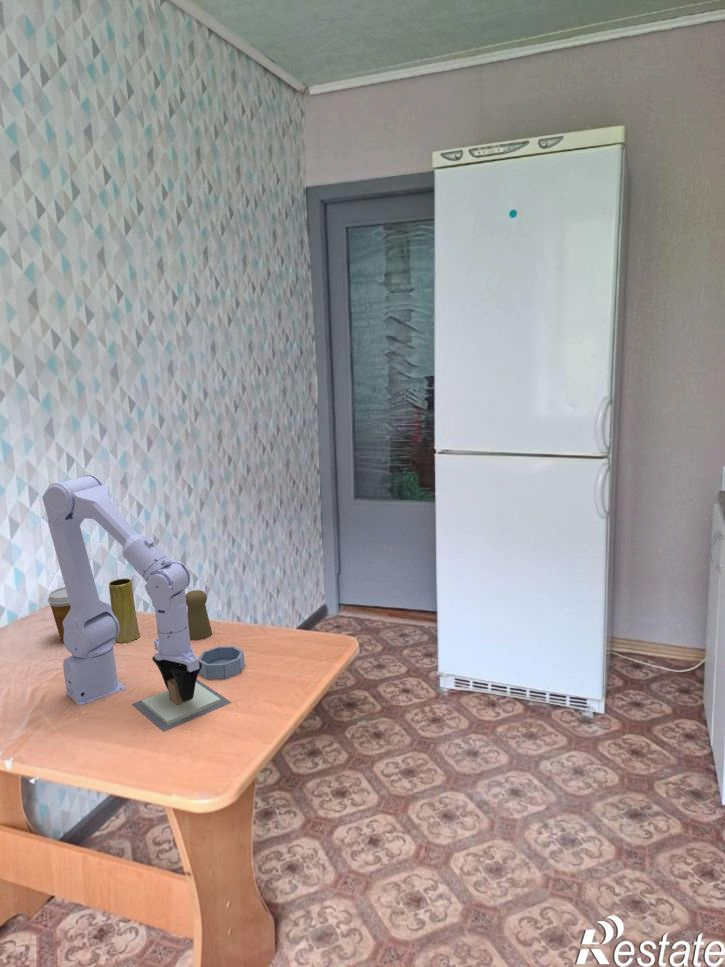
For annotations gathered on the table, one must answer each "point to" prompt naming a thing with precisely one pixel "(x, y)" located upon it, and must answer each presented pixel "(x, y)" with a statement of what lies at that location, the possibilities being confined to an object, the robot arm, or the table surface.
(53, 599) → the disposable coffee cup
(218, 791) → the table surface
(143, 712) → the mat
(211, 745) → the table surface
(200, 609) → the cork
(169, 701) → the lid
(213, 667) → the bowl
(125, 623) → the vase
